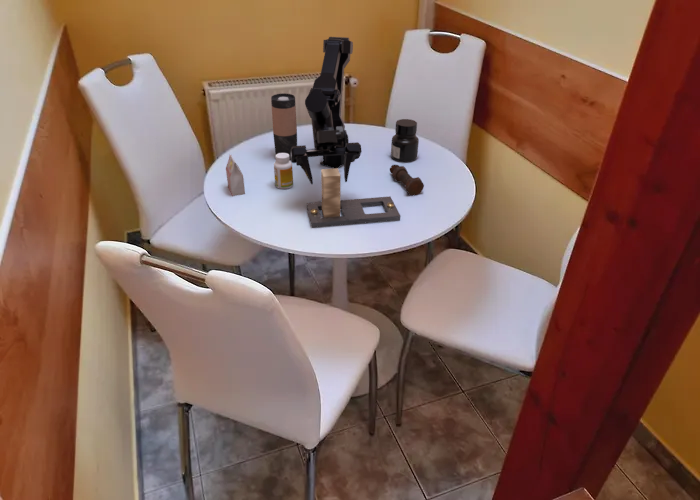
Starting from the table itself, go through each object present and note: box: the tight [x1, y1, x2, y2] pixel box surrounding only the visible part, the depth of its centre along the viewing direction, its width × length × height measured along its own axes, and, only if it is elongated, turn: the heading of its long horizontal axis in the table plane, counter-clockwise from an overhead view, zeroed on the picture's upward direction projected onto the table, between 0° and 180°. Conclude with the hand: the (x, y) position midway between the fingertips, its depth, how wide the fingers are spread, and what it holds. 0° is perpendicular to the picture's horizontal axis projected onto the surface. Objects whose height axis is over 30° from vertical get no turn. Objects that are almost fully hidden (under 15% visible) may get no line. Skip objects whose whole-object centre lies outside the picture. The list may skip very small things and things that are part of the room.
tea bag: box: [225, 154, 246, 197], centre depth 155 cm, size 4×7×10 cm, turn 22°
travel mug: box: [270, 92, 298, 161], centre depth 172 cm, size 8×8×20 cm
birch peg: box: [320, 168, 341, 218], centre depth 142 cm, size 4×4×13 cm
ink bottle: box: [390, 118, 420, 163], centre depth 175 cm, size 10×9×12 cm
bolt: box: [389, 164, 425, 197], centre depth 161 cm, size 6×5×15 cm
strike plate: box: [306, 195, 401, 229], centre depth 146 cm, size 24×11×2 cm, turn 101°
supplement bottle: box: [273, 153, 294, 190], centre depth 158 cm, size 5×5×10 cm
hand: (329, 182), depth 143 cm, fingers open, 9 cm apart
